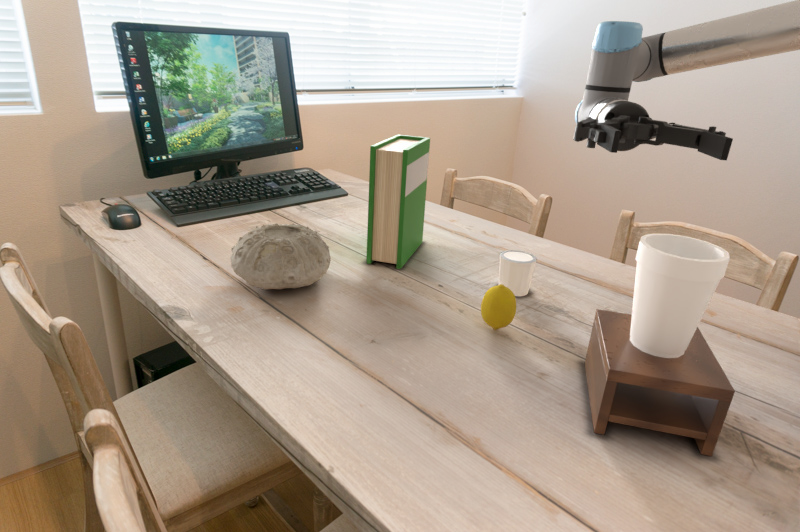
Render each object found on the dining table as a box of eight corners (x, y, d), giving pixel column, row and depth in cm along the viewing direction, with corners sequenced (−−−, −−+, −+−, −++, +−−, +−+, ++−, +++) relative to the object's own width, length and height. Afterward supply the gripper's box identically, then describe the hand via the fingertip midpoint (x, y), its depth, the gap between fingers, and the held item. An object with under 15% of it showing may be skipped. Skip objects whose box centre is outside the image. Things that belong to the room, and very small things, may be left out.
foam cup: (600, 331, 68) (622, 236, 63) (653, 321, 72) (677, 230, 67) (660, 371, 60) (690, 265, 55) (716, 357, 64) (749, 257, 59)
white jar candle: (504, 279, 105) (509, 246, 103) (537, 289, 102) (542, 255, 99) (488, 290, 100) (493, 256, 97) (522, 301, 96) (528, 265, 94)
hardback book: (400, 269, 107) (407, 150, 98) (366, 263, 109) (370, 146, 100) (422, 242, 123) (430, 137, 114) (392, 237, 125) (397, 134, 116)
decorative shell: (331, 301, 92) (331, 247, 88) (224, 302, 89) (220, 247, 85) (329, 263, 108) (329, 216, 104) (239, 262, 106) (236, 214, 102)
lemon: (498, 341, 82) (504, 295, 79) (471, 327, 86) (476, 282, 83) (519, 331, 86) (526, 286, 83) (493, 318, 90) (499, 274, 87)
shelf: (679, 380, 75) (696, 324, 72) (712, 456, 61) (735, 391, 57) (584, 363, 78) (596, 309, 74) (593, 433, 63) (609, 369, 60)
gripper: (690, 153, 87) (764, 182, 67) (537, 142, 88) (565, 168, 68) (703, 105, 84) (783, 121, 64) (544, 95, 85) (576, 107, 65)
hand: (671, 145), depth 66 cm, fingers open, 13 cm apart
